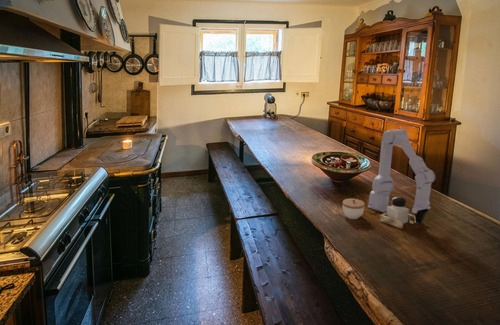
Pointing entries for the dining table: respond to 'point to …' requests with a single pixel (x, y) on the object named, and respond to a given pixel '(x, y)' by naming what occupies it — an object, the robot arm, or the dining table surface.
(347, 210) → the lidded jar
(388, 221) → the cradle
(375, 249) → the dining table surface
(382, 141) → the robot arm
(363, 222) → the dining table surface
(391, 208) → the medicine bottle
